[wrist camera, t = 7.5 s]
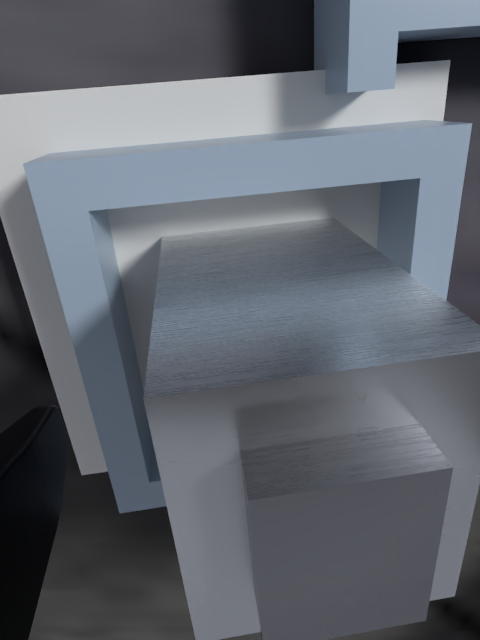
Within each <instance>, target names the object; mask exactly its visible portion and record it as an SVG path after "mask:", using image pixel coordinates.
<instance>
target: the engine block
mask: <svg viewBox="0 0 480 640" xmlns="http://www.w3.org/2000/svg"><path fill="white" fill-rule="evenodd" d="M143 400H144V404H145V409H146V414H147V418H148V423H149V427H150V432H151V437H152V441H153V446H154V450H155V455H156V459H157V464H158V469H159V473H160V478H161V482H162V487H163V492H164V496H165V501H166V505H167V510H168V515H169V519H170V524H171V528H172V533H173V537H174V542H175V547H176V551H177V556H178V560H179V565H180V570H181V574H182V579H183V583H184V588H185V593H186V597H187V602H188V606H189V611H190V615H191V620H192V625H193V629H194V634H195V638H196V640H218V639H224V638H229V637H235V636H240V635H246V634H251V633H257V632H261V636H262V640H326V639H331V638H336V637H342V636H347V635H352V634H358V633H363V632H369V631H374V630H379V629H385V628H390V627H395V626H401V625H406V624H412V623H417V622H422V621H426V618H427V612H428V606H429V601H432V600H437V599H443V598H448V597H454V596H455V593H456V589H457V584H458V580H459V575H460V570H461V566H462V561H463V557H464V552H465V548H466V543H467V538H468V534H469V529H470V525H471V520H472V516H473V511H474V506H475V502H476V497H477V493H478V488H479V484H480V325H478V324H477V323H476V322H474V321H473V320H471V319H470V318H469V317H467V316H466V315H465V314H463V313H462V312H461V311H459V310H458V309H457V308H455V307H454V306H452V305H451V304H450V303H448V302H447V301H446V300H444V299H443V298H442V297H440V296H439V295H438V294H436V293H435V292H434V291H432V290H431V289H429V288H428V287H427V286H425V285H424V284H423V283H421V282H420V281H419V280H417V279H416V278H415V277H413V276H412V275H410V274H409V273H408V272H406V271H405V270H404V269H402V268H401V267H400V266H398V265H397V264H396V263H394V262H393V261H391V260H390V259H389V258H387V257H386V256H385V255H383V254H382V253H381V252H379V251H378V250H377V249H375V248H374V247H372V246H371V245H370V244H368V243H367V242H366V241H364V240H363V239H362V238H360V237H359V236H358V235H356V234H355V233H354V232H352V231H351V230H349V229H348V228H347V227H345V226H344V225H343V224H341V223H340V222H339V221H337V220H336V219H335V218H324V219H316V220H307V221H298V222H289V223H280V224H271V225H262V226H253V227H245V228H236V229H227V230H218V231H209V232H200V233H191V234H182V235H174V236H165V237H162V243H161V251H160V260H159V268H158V277H157V285H156V294H155V303H154V311H153V320H152V328H151V337H150V345H149V354H148V362H147V371H146V379H145V388H144V396H143Z"/></svg>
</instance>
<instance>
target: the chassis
mask: <svg viewBox="0 0 480 640" xmlns="http://www.w3.org/2000/svg"><path fill="white" fill-rule="evenodd" d="M468 37H480V0H314V71H301V72H289V73H276V74H263V75H250V76H237V77H225V78H212V79H199V80H186V81H173V82H160V83H148V84H135V85H122V86H109V87H96V88H84V89H71V90H58V91H45V92H32V93H19V94H7V95H0V217H1V220H2V223H3V227H4V230H5V233H6V236H7V239H8V243H9V246H10V249H11V252H12V255H13V258H14V262H15V265H16V268H17V271H18V274H19V278H20V281H21V284H22V287H23V290H24V294H25V297H26V300H27V303H28V306H29V309H30V313H31V316H32V319H33V322H34V325H35V329H36V332H37V335H38V338H39V341H40V344H41V348H42V351H43V354H44V357H45V360H46V364H47V367H48V370H49V373H50V376H51V380H52V383H53V386H54V389H55V392H56V395H57V399H58V402H59V405H60V408H61V411H62V415H63V418H64V421H65V424H66V427H67V431H68V434H69V437H70V440H71V443H72V446H73V450H74V453H75V456H76V459H77V462H78V466H79V469H80V472H81V475H87V474H94V473H101V472H108V473H109V477H110V481H111V484H112V488H113V491H114V495H115V499H116V502H117V506H118V510H119V513H126V512H132V511H139V510H145V509H152V508H158V507H165V506H167V505H166V501H165V496H164V492H163V487H162V482H161V478H160V473H159V469H158V464H157V459H156V455H155V450H154V446H153V441H152V437H151V432H150V427H149V423H148V418H147V414H146V409H145V404H144V400H143V396H144V388H145V379H146V371H147V362H148V354H149V345H150V337H151V328H152V320H153V311H154V303H155V294H156V285H157V277H158V268H159V260H160V251H161V243H162V237H165V236H174V235H182V234H191V233H200V232H209V231H218V230H227V229H236V228H245V227H253V226H262V225H271V224H280V223H289V222H298V221H307V220H316V219H324V218H335V219H336V220H337V221H339V222H340V223H341V224H343V225H344V226H345V227H347V228H348V229H349V230H351V231H352V232H354V233H355V234H356V235H358V236H359V237H360V238H362V239H363V240H364V241H366V242H367V243H368V244H370V245H371V246H372V247H374V248H375V249H377V250H378V251H379V252H381V253H382V254H383V255H385V256H386V257H387V258H389V259H390V260H391V261H393V262H394V263H396V264H397V265H398V266H400V267H401V268H402V269H404V270H405V271H406V272H408V273H409V274H410V275H412V276H413V277H415V278H416V279H417V280H419V281H420V282H421V283H423V284H424V285H425V286H427V287H428V288H429V289H431V290H432V291H434V292H435V293H436V294H438V295H439V296H440V297H442V298H443V299H444V300H446V299H447V292H448V285H449V278H450V272H451V265H452V258H453V251H454V244H455V237H456V230H457V224H458V217H459V210H460V203H461V196H462V189H463V182H464V176H465V169H466V162H467V155H468V148H469V141H470V134H471V128H472V123H462V122H447V121H443V119H444V111H445V102H446V94H447V86H448V77H449V69H450V60H442V61H430V62H417V63H404V64H396V61H397V47H398V43H401V42H414V41H428V40H441V39H455V38H468Z"/></svg>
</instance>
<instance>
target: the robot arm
mask: <svg viewBox="0 0 480 640" xmlns="http://www.w3.org/2000/svg"><path fill="white" fill-rule="evenodd" d="M68 450H69V440H68V436H67V432H66V429H65V426H64V423H63V420H62V417H61V414H60V411H59V409H58V407H57V406H55V405H49V406H42V407H36V408H33V409H32V410H31V411H29V412H28V413H27V414H26V415H24V416H23V417H22V418H20V419H19V420H18V421H17V422H15V423H14V424H13V425H11V426H10V427H9V428H8V429H6V430H5V431H4V432H2V433H1V434H0V640H28V638H29V635H30V631H31V627H32V623H33V619H34V615H35V611H36V607H37V603H38V600H39V596H40V592H41V588H42V584H43V580H44V576H45V572H46V569H47V565H48V561H49V557H50V553H51V549H52V545H53V541H54V538H55V534H56V530H57V525H58V521H59V515H60V509H61V502H62V495H63V487H64V480H65V473H66V465H67V458H68Z"/></svg>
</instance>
